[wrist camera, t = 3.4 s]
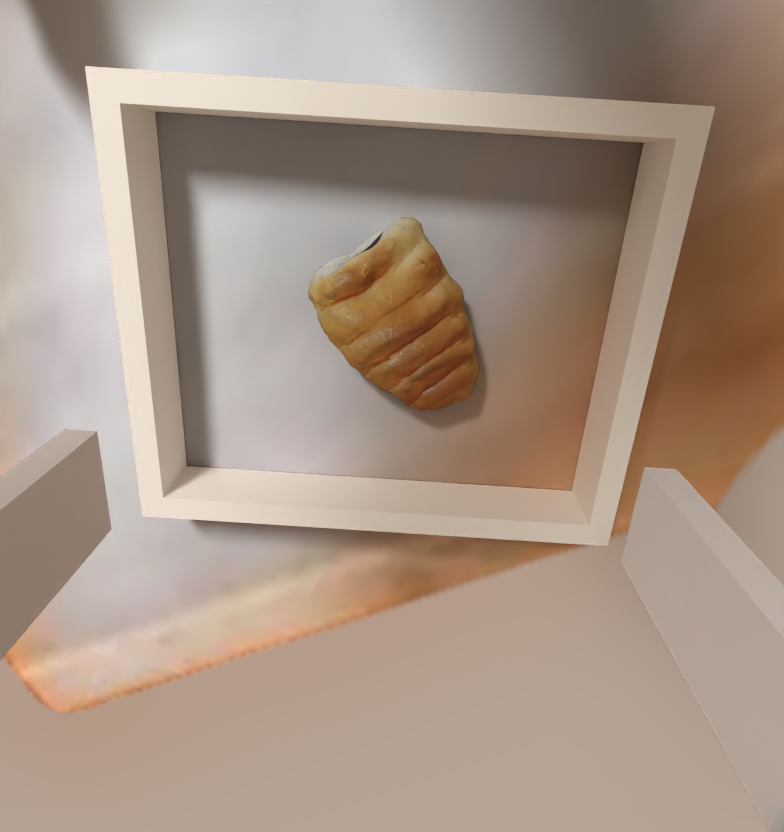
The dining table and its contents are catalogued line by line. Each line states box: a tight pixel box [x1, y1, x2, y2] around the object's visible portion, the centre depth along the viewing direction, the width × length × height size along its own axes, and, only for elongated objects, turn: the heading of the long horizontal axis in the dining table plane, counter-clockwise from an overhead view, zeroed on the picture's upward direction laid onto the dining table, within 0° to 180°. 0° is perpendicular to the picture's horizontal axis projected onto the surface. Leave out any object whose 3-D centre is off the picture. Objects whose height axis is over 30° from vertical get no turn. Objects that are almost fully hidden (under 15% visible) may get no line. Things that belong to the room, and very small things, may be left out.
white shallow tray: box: [85, 66, 716, 546], centre depth 28 cm, size 24×20×4 cm
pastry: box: [308, 217, 479, 410], centre depth 28 cm, size 9×7×4 cm
